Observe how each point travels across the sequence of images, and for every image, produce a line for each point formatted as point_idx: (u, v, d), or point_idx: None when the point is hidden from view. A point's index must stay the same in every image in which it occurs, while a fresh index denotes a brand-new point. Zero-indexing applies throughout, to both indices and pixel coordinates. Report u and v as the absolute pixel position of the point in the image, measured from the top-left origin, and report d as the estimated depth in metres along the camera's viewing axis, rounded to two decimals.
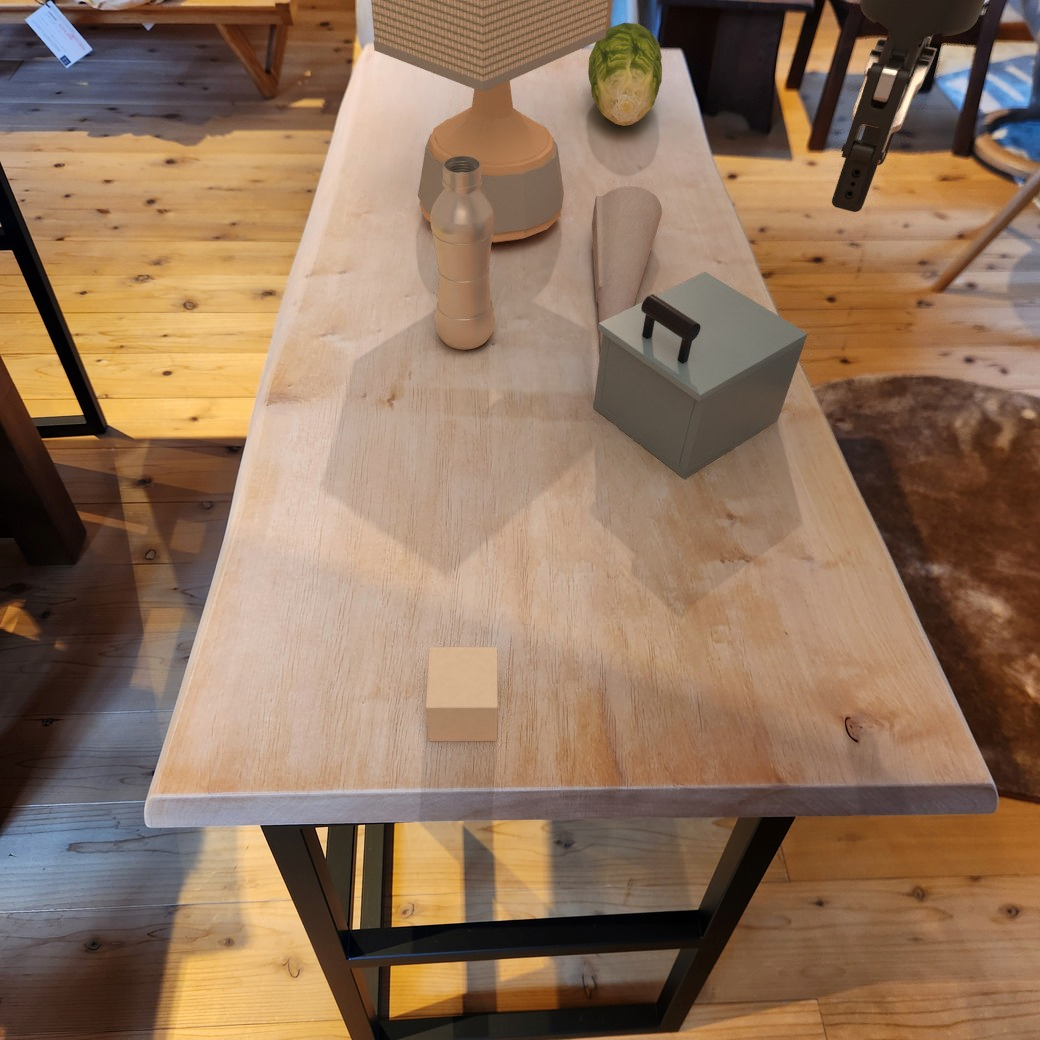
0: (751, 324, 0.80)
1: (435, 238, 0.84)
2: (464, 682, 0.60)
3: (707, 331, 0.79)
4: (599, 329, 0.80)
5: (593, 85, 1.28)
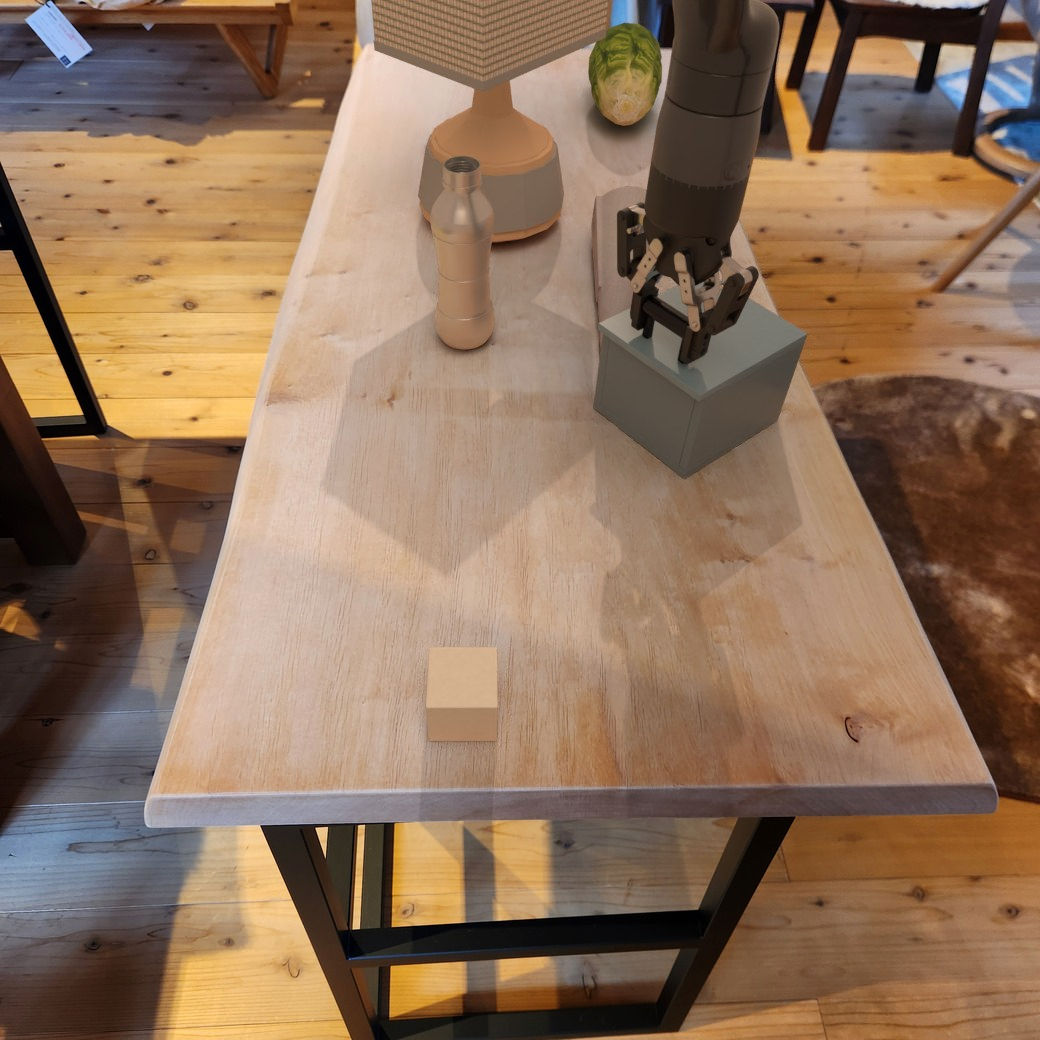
0: (751, 324, 0.80)
1: (435, 238, 0.84)
2: (464, 682, 0.60)
3: None
4: (599, 329, 0.80)
5: (593, 85, 1.28)
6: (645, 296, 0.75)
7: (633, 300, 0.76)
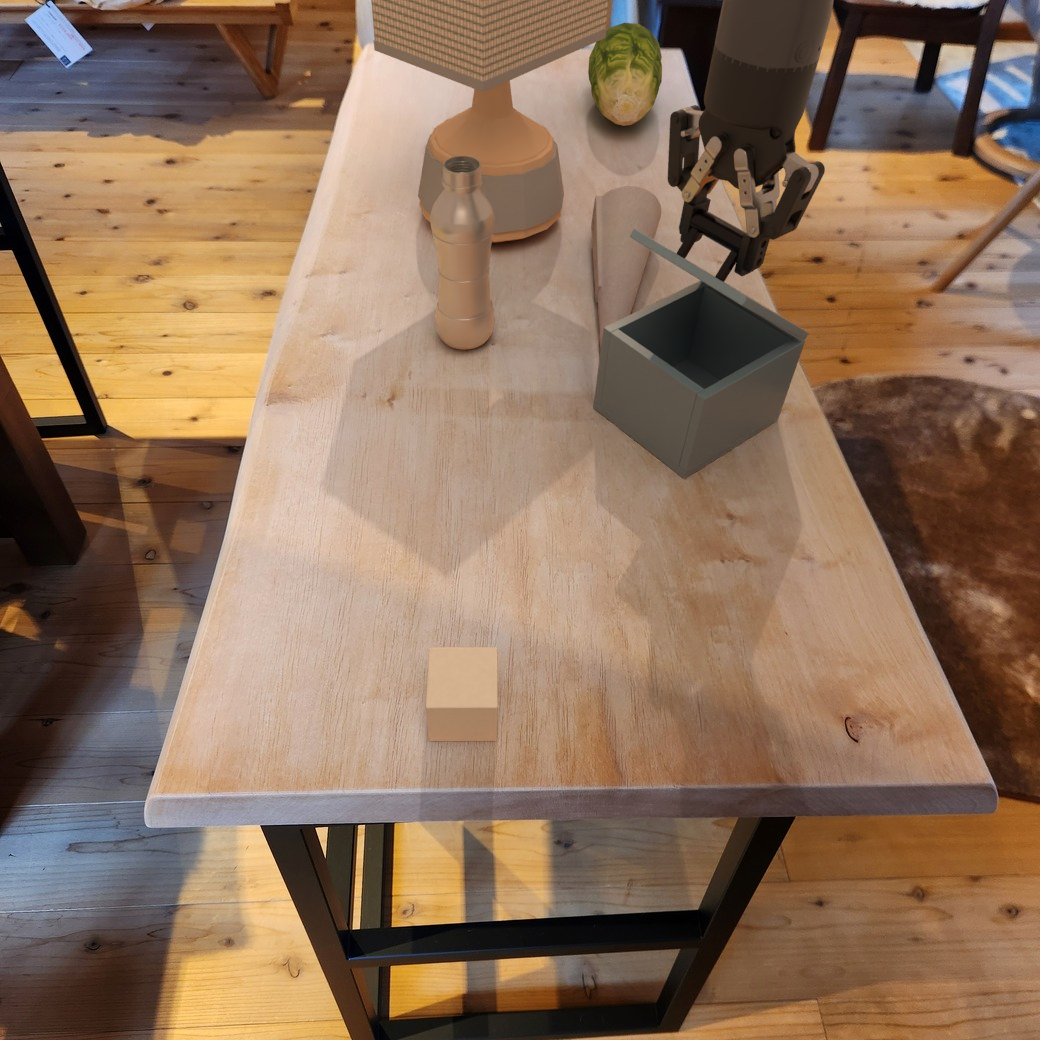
0: None
1: (435, 238, 0.84)
2: (464, 682, 0.60)
3: None
4: (633, 235, 0.74)
5: (593, 85, 1.28)
6: (697, 206, 0.72)
7: (683, 212, 0.73)
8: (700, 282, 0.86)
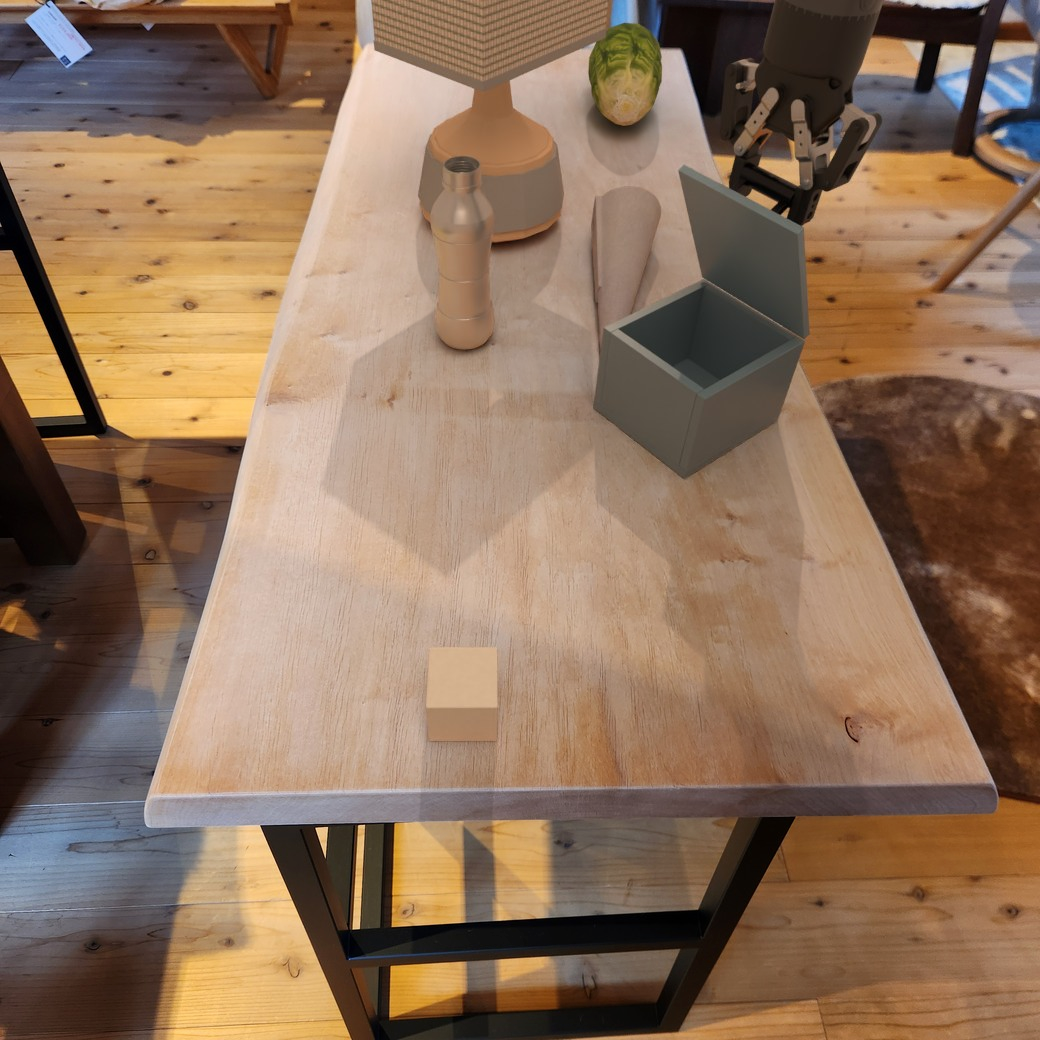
0: None
1: (435, 238, 0.84)
2: (464, 682, 0.60)
3: None
4: (682, 169, 0.73)
5: (593, 85, 1.28)
6: (748, 160, 0.73)
7: (734, 166, 0.74)
8: (700, 282, 0.86)
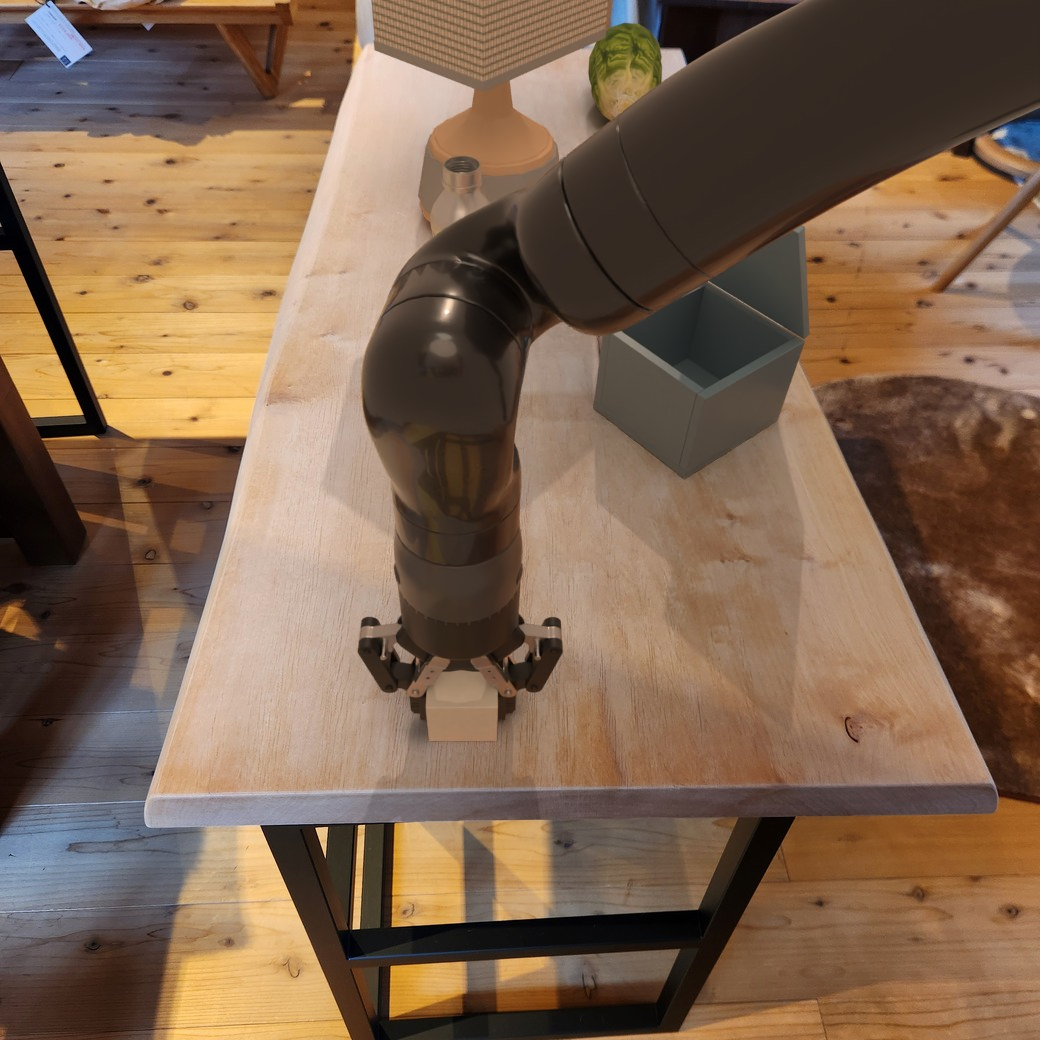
0: None
1: None
2: (464, 682, 0.60)
3: None
4: None
5: (593, 85, 1.28)
6: None
7: (412, 700, 0.61)
8: None
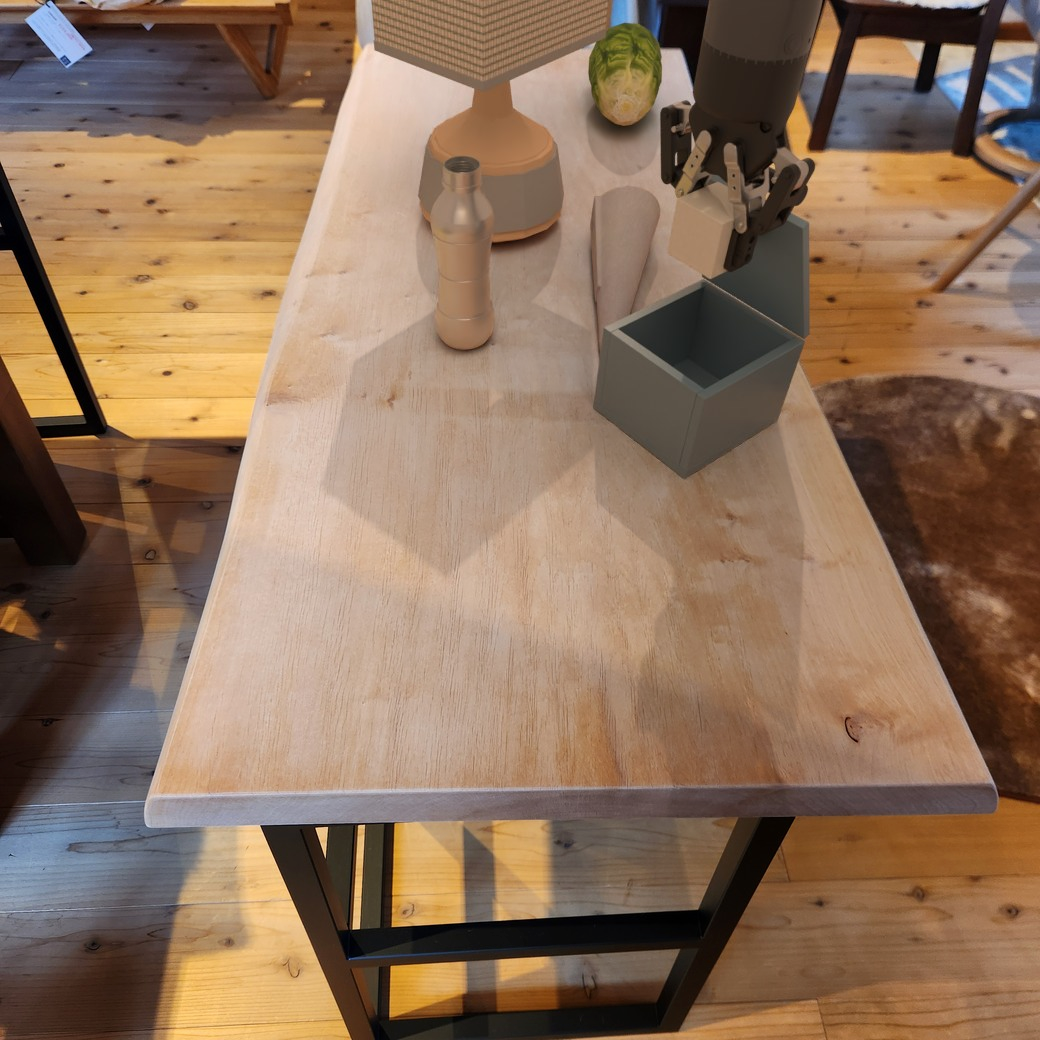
0: None
1: (435, 238, 0.84)
2: (717, 204, 0.69)
3: None
4: None
5: (593, 85, 1.28)
6: None
7: None
8: (700, 282, 0.86)
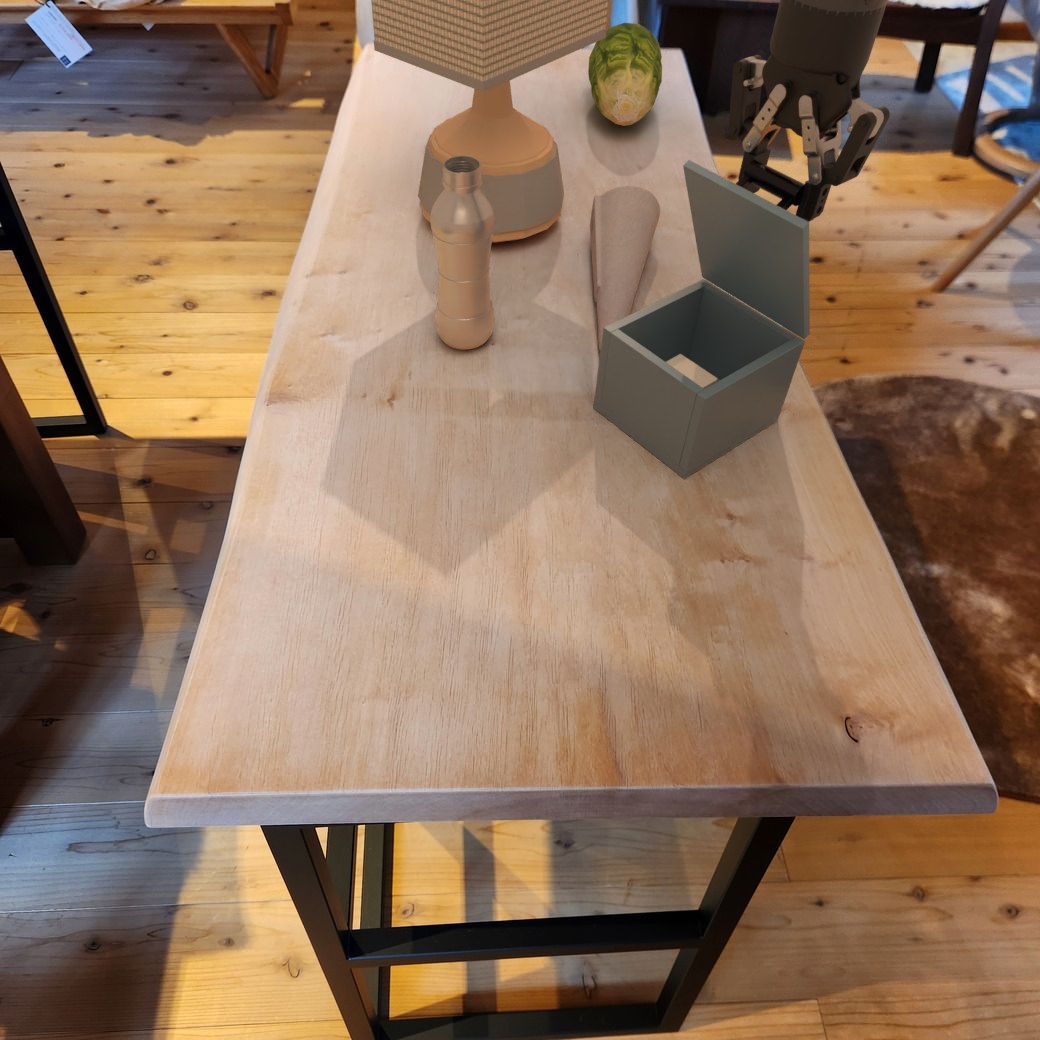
0: None
1: (435, 238, 0.84)
2: None
3: None
4: (687, 164, 0.73)
5: (593, 85, 1.28)
6: (757, 156, 0.73)
7: (743, 162, 0.74)
8: (700, 282, 0.86)
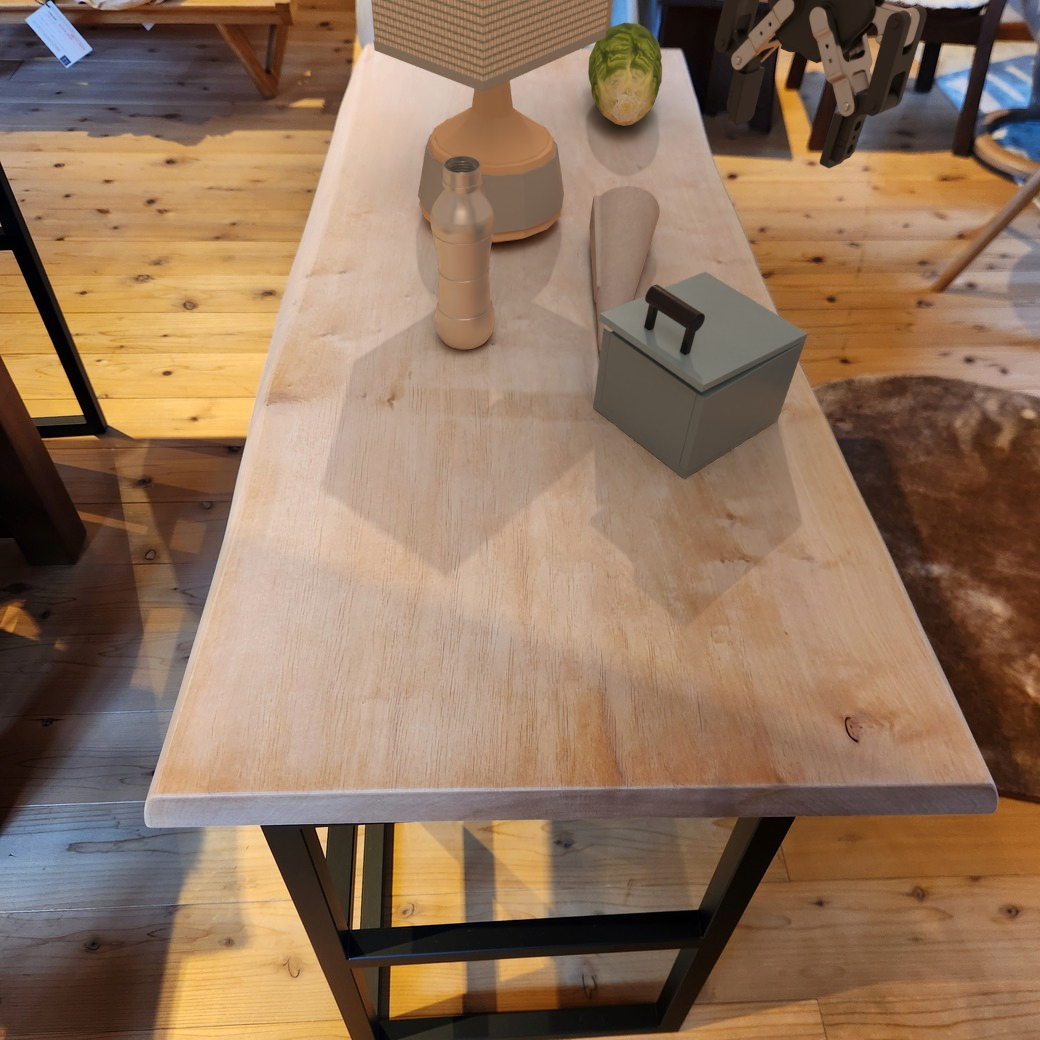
0: (752, 322, 0.80)
1: (435, 238, 0.84)
2: None
3: (709, 326, 0.79)
4: (601, 319, 0.79)
5: (593, 85, 1.28)
6: (749, 75, 0.62)
7: (732, 84, 0.63)
8: None
